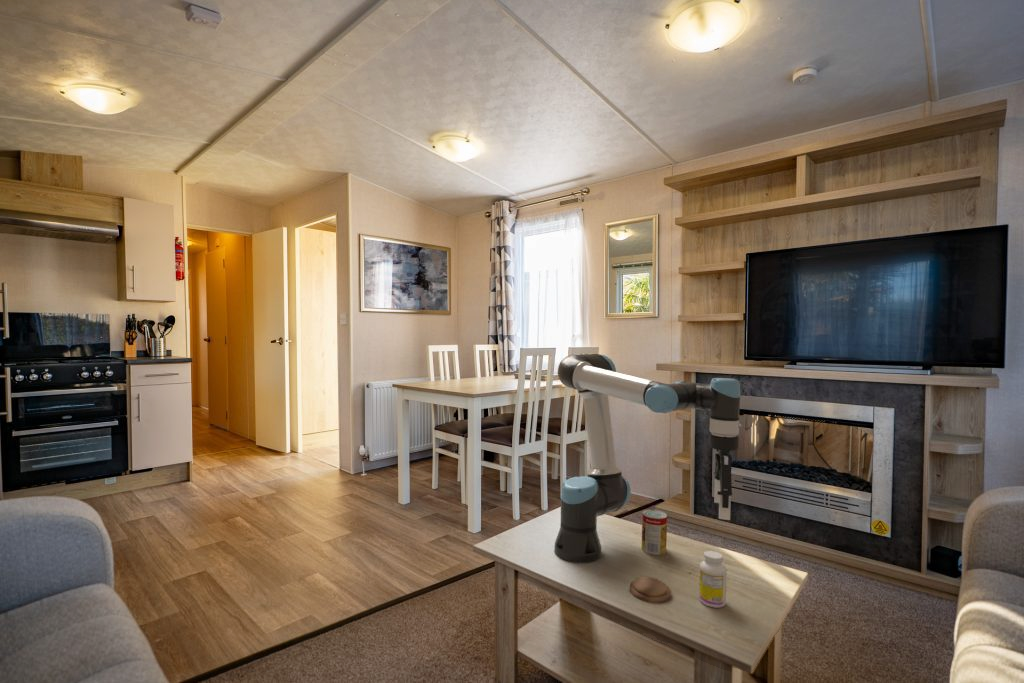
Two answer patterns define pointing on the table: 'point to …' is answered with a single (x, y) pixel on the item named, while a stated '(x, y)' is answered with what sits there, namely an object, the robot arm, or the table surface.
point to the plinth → (650, 590)
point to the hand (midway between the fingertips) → (721, 510)
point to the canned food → (654, 532)
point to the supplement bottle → (712, 580)
